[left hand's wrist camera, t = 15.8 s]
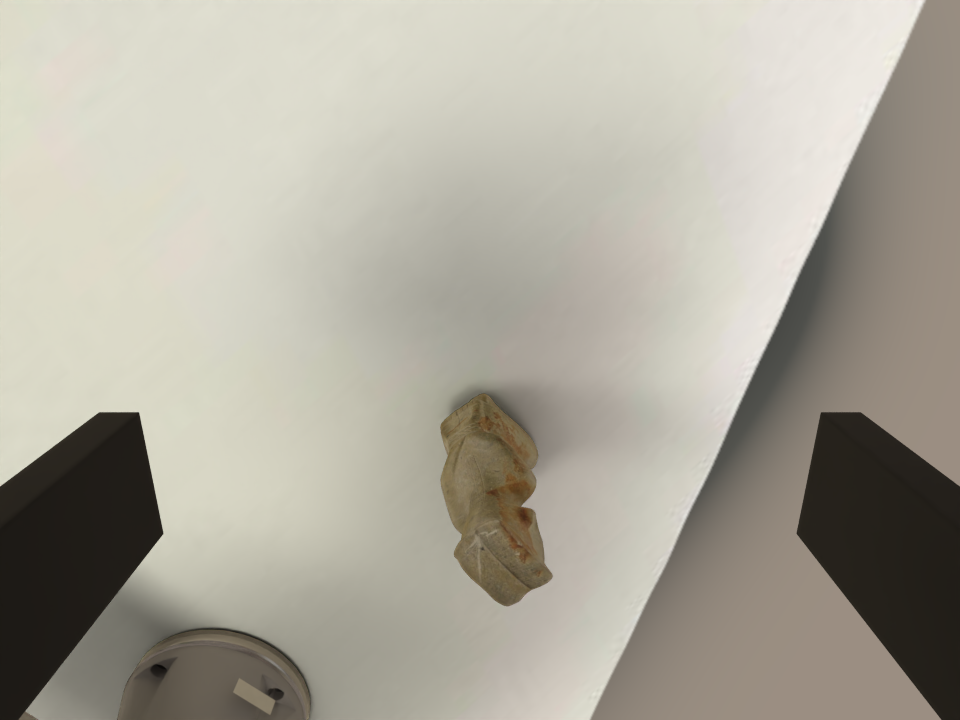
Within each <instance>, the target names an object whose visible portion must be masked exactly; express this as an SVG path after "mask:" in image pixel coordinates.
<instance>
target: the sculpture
mask: <svg viewBox="0 0 960 720" xmlns="http://www.w3.org/2000/svg"><path fill="white" fill-rule="evenodd" d="M440 428H441V435H442V438H443V442H444V446H445V449H446V452H447V454H448V457H447V460H446V463H445V466H444V469H443V472H442V476H441V487H442V491H443V494H444V498H445V502H446V505H447V508H448V512H449V515H450V518H451V521H452V523H453V525H454V527H455V528H456V529H457V530H458V531H459V532H460V533H461V534H462V538H461V541H460V542H459V543H458V545H457V547H456V549H455V551H454V557H455V558H456V559H457V560H458V562H459V563H460V565H461V567H462V568H463V570H464V571H465V572H466V573H467V575H468V576H469V577H470V578H471V579H472V580H474V581H475V582H476V583H477V584H478V585H479V586H480V587H482V588H483V589H484V590H485V591H486V592H487V593H488V594H489V595H490V596H491V597H492V598H493V599H494V600H495V601H497V602H498V603H500V604H502V605H504V606H510V605H513V604H515V603H517V602H519V601H520V600H521V599H522V598H523V597H524V595H525V594H526V593H527V592H529V591H531V590H533V589H535V588H538V587H540V586H542V585H544V584H546V583H548V582H549V581H550V580H551V579H552V576H553V575H552V573H551V572H550V571H549V569H548V568H547V567H546V565H545V563H544V549H543V542H542V539H541V536H540V532H539V529H538V525H537V520H536V514H535V512H534V510H532V509H529V508H524V507H521V506H522V504H523V503H524V502H525V501H526V500H527V499H528V498H529V497H530V496H531V495H532V493H533V492H534V490H535V488H536V478H535V476H534V474H533V472H532V471H531V469H532V468H533V467H534V466H535V465H536V462H537V459H538V451H537V448H536V446H535V444H534V442H533V441H532V439H531V438H530V436H529V435H528V434H527V433H526V432H525V431H524V430H523V429H522V428H521V427H520V426H519V425H518V424H517V423H516V422H515V421H513V420H512V419H511V418H510V417H509V416H507V415H506V414H505V413H504V412H503V411H502V410H501V409H500V408H499V407H498V406H497V405H496V404H495V403H494V402H493V400H492V399H491V398H490V397H489V396H488V395H486V394H480V395H478V396H476V397H475V398H473V399H472V400H470V402H469V403H467V404H465V405H464V406H462V407H461V408H459V409H458V410H456V411H455V412H453V413H452V414H451V415H450V416H449V417H447V418H446V419H445V420H444V421H443V422H442V424H441V427H440Z"/></svg>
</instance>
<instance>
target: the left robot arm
mask: <svg viewBox="0 0 960 720" xmlns="http://www.w3.org/2000/svg"><path fill="white" fill-rule="evenodd" d="M162 535H163V529H162V524H161V519H160V514H159V509H158V504H157V499H156V494H155V489H154V484H153V479H152V474H151V469H150V465H149V460H148V455H147V450H146V445H145V440H144V435H143V430H142V425H141V420H140V415H139V412H99V413H98V414H96V415H95V416H94V417H92V418H91V419H90V420H88V421H87V422H86V423H84V424H83V425H82V426H80V427H79V428H78V429H76V430H75V431H74V432H72V433H71V434H70V435H68V436H67V437H66V438H64V439H63V440H62V441H60V442H59V443H58V444H56V445H55V446H54V447H52V448H51V449H50V450H48V451H47V452H46V453H44V454H43V455H42V456H40V457H39V458H38V459H36V460H35V461H34V462H32V463H31V464H30V465H28V466H27V467H26V468H24V469H23V470H22V471H20V472H19V473H18V474H16V475H15V476H14V477H12V478H11V479H10V480H8V481H7V482H6V483H4V484H3V485H2V486H0V720H38V719H36V718H35V717H33V716H31V715H30V714H28V713H27V712H25V711H26V709H27V708H28V707H29V706H30V704H31V703H32V702H33V700H34V699H35V698H36V697H37V695H38V694H39V693H40V691H41V690H42V689H43V688H44V686H45V685H46V684H47V682H48V681H49V680H50V679H51V677H52V676H53V675H54V673H55V672H56V671H57V670H58V668H59V667H60V666H61V664H62V663H63V662H64V661H65V659H66V658H67V657H68V655H69V654H70V653H71V652H72V650H73V649H74V648H75V646H76V645H77V644H78V643H79V641H80V640H81V639H82V637H83V636H84V635H85V634H86V632H87V631H88V630H89V629H90V627H91V626H92V625H93V623H94V622H95V621H96V620H97V618H98V617H99V616H100V614H101V613H102V612H103V611H104V609H105V608H106V607H107V605H108V604H109V603H110V602H111V600H112V599H113V598H114V596H115V595H116V594H117V593H118V591H119V590H120V589H121V587H122V586H123V585H124V584H125V582H126V581H127V580H128V578H129V577H130V576H131V575H132V573H133V572H134V571H135V569H136V568H137V567H138V566H139V564H140V563H141V562H142V560H143V559H144V558H145V557H146V555H147V554H148V553H149V551H150V550H151V549H152V548H153V546H154V545H155V544H156V543H157V541H158V540H159V539H160V537H161V536H162ZM797 535H798V536H799V537H800V539H801V540H802V541H803V542H804V544H805V545H806V546H807V548H808V549H809V550H810V551H811V553H812V554H813V555H814V557H815V558H816V559H817V560H818V562H819V563H820V564H821V566H822V567H823V568H824V569H825V571H826V572H827V573H828V575H829V576H830V577H831V578H832V580H833V581H834V582H835V584H836V585H837V586H838V587H839V589H840V590H841V591H842V593H843V594H844V595H845V596H846V598H847V599H848V600H849V602H850V603H851V604H852V605H853V607H854V608H855V609H856V611H857V612H858V613H859V614H860V616H861V617H862V618H863V619H864V621H865V622H866V623H867V625H868V626H869V627H870V628H871V630H872V631H873V632H874V634H875V635H876V636H877V637H878V639H879V640H880V641H881V643H882V644H883V645H884V646H885V648H886V649H887V650H888V652H889V653H890V654H891V655H892V657H893V658H894V659H895V661H896V662H897V663H898V664H899V666H900V667H901V668H902V670H903V671H904V672H905V673H906V675H907V676H908V677H909V679H910V680H911V681H912V682H913V684H914V685H915V686H916V688H917V689H918V690H919V691H920V693H921V694H922V695H923V697H924V698H925V699H926V700H927V702H928V703H929V704H930V706H931V707H932V708H933V709H934V711H935V712H936V713H937V715H938V716H939V717H940V718H941V720H960V486H958V485H957V484H956V483H954V482H953V481H952V480H950V479H949V478H948V477H946V476H945V475H944V474H942V473H941V472H940V471H938V470H937V469H935V468H934V467H933V466H932V465H930V464H929V463H928V462H926V461H925V460H924V459H922V458H921V457H920V456H918V455H917V454H916V453H914V452H913V451H911V450H910V449H909V448H908V447H906V446H905V445H903V444H902V443H901V442H900V441H898V440H897V439H896V438H894V437H893V436H892V435H890V434H889V433H888V432H886V431H885V430H884V429H882V428H881V427H880V426H878V425H877V424H875V423H874V422H873V421H872V420H870V419H869V418H868V417H866V416H865V415H863V414H862V413H860V412H822V413H821V415H820V420H819V425H818V430H817V435H816V440H815V445H814V450H813V455H812V460H811V465H810V469H809V474H808V480H807V484H806V489H805V494H804V500H803V505H802V509H801V514H800V519H799V524H798V529H797ZM309 713H310V697H309V692H308V689H307V686H306V684H305V682H304V679H303V677H302V676H301V674H300V673H299V671H298V670H297V669H296V667H295V666H294V665H293V664H292V663H291V662H290V661H289V660H288V659H287V658H286V657H285V656H284V655H282V654H281V653H280V652H278V651H277V650H276V649H274V648H273V647H271V646H269V645H268V644H266V643H264V642H262V641H260V640H257V639H255V638H252V637H250V636H247V635H244V634H240V633H236V632H231V631H225V630H195V631H188V632H184V633H180V634H177V635H174V636H171V637H169V638H167V639H165V640H163V641H161V642H159V643H158V644H156V645H155V646H154V647H152V648H151V649H150V650H149V651H148V652H147V653H146V654H145V655H144V656H143V658H142V659H141V661H140V662H139V664H138V665H137V667H136V668H135V670H134V672H133V673H132V675H131V676H130V678H129V680H128V682H127V684H126V686H125V690H124V693H123V697H122V701H121V705H120V709H119V714H118V718H117V720H308V718H309Z"/></svg>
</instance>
